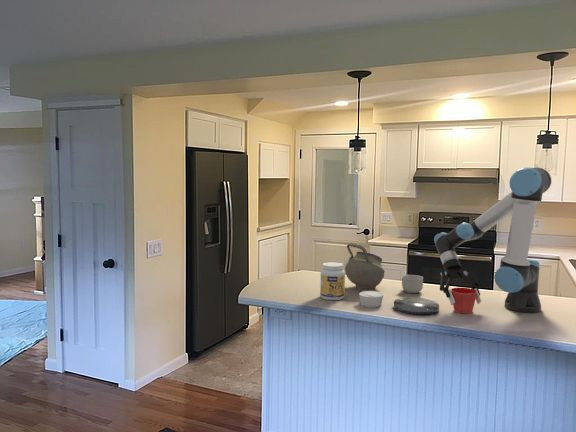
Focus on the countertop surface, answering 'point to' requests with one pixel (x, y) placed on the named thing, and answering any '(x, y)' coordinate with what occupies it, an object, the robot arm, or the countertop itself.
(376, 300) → the ramekin
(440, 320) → the countertop surface
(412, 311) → the disc
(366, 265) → the pot
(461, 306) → the flower pot
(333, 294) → the supplement tub
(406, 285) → the teacup
